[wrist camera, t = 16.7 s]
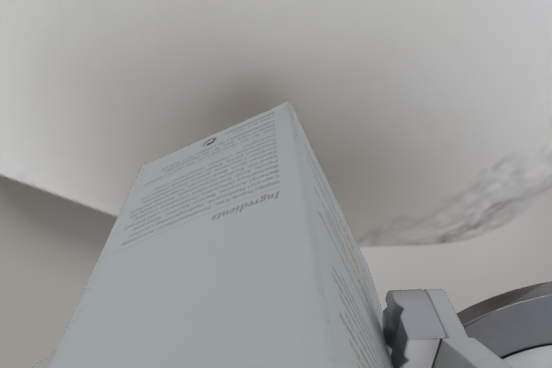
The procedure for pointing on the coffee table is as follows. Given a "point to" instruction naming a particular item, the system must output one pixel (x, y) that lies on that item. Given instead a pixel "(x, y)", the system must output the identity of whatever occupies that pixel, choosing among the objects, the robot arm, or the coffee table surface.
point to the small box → (230, 264)
